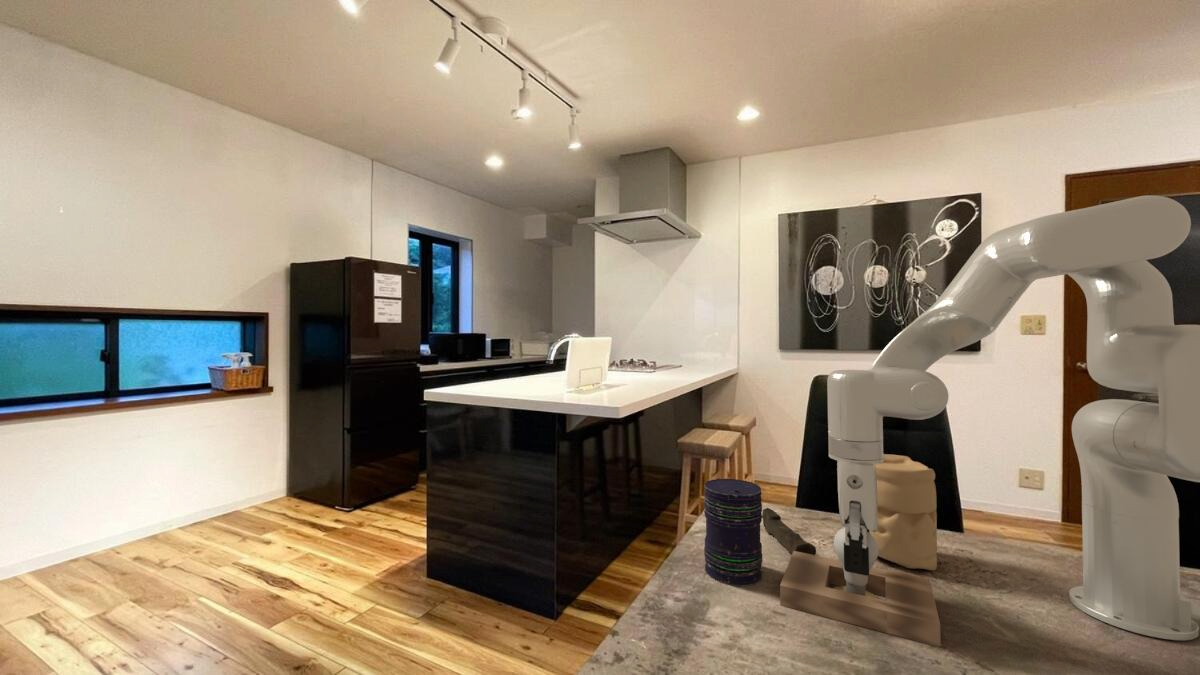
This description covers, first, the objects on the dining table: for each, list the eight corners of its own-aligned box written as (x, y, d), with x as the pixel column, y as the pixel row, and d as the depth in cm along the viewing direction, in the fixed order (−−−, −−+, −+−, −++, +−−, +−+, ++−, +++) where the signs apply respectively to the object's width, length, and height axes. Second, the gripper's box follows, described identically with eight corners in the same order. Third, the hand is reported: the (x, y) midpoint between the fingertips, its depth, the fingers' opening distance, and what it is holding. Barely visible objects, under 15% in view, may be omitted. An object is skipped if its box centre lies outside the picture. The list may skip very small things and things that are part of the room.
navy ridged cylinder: (699, 558, 88) (699, 478, 88) (752, 559, 87) (752, 478, 88) (710, 585, 78) (710, 495, 78) (770, 586, 77) (770, 495, 78)
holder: (929, 597, 74) (929, 578, 74) (940, 647, 62) (940, 624, 62) (793, 567, 84) (793, 550, 84) (780, 604, 72) (780, 585, 72)
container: (912, 544, 94) (911, 454, 94) (953, 575, 81) (952, 471, 82) (846, 542, 95) (845, 452, 95) (877, 572, 82) (876, 469, 83)
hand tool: (817, 566, 85) (817, 540, 85) (795, 566, 85) (795, 540, 85) (776, 526, 104) (776, 505, 104) (758, 526, 104) (758, 505, 104)
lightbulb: (825, 593, 75) (824, 523, 75) (852, 585, 77) (852, 517, 77) (859, 613, 69) (858, 537, 69) (888, 604, 71) (887, 531, 71)
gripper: (884, 464, 64) (887, 591, 64) (882, 441, 79) (884, 543, 79) (823, 458, 68) (826, 577, 67) (832, 437, 83) (834, 535, 82)
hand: (857, 559), depth 73 cm, fingers open, 9 cm apart
